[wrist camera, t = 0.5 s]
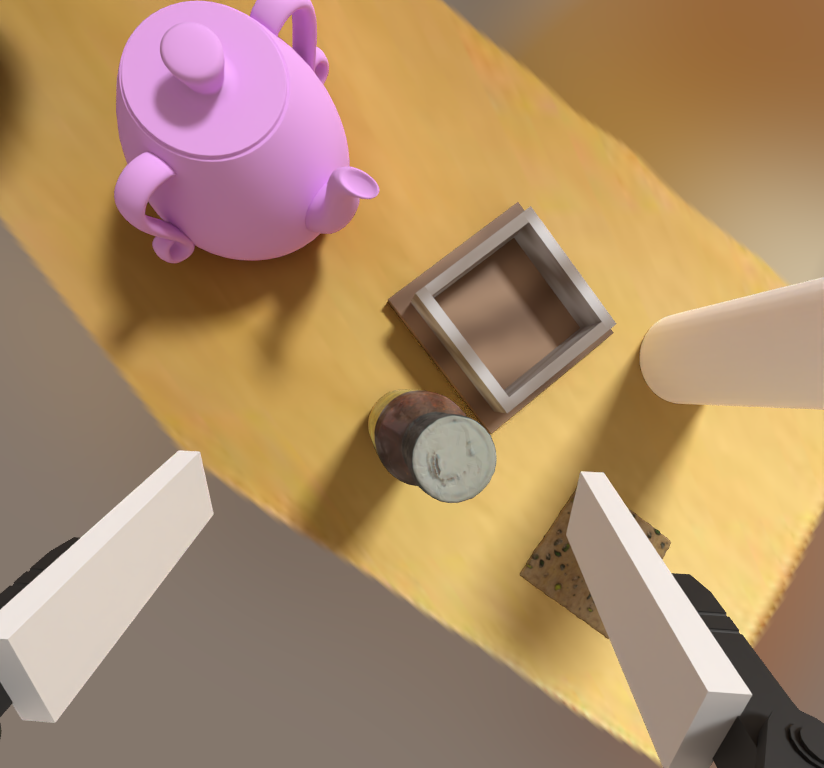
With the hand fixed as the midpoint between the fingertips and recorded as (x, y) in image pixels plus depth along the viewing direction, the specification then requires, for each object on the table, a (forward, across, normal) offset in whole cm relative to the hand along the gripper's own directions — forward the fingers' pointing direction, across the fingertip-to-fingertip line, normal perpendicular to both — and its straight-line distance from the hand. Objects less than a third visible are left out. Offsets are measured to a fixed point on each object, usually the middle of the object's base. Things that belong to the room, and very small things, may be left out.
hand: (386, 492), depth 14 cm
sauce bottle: (+22, -1, -9) cm, 24 cm away
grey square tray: (+27, +8, 0) cm, 29 cm away
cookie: (+20, +19, -22) cm, 35 cm away
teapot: (+29, -14, +11) cm, 33 cm away
